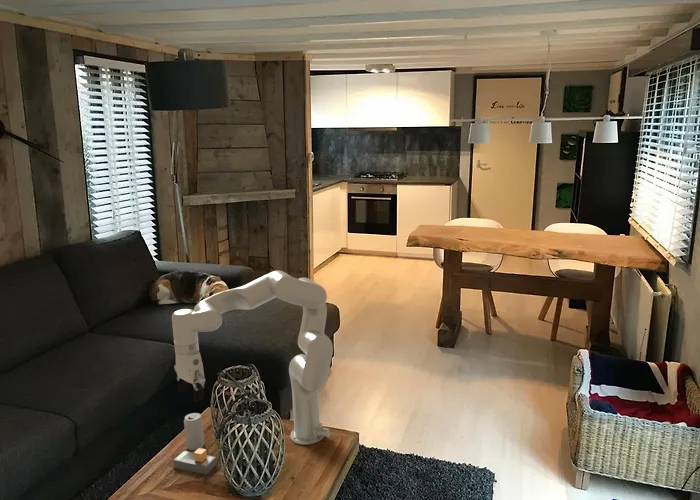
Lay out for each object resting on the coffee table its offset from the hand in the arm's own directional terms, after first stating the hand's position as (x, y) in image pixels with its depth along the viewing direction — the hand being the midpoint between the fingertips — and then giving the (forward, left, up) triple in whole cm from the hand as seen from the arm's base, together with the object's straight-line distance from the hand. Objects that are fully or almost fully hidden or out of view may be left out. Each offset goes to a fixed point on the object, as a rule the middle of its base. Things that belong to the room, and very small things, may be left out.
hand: (191, 395), depth 189 cm
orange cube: (-1, 0, -23) cm, 23 cm away
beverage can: (+9, -10, -27) cm, 30 cm away
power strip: (+1, 0, -26) cm, 26 cm away
